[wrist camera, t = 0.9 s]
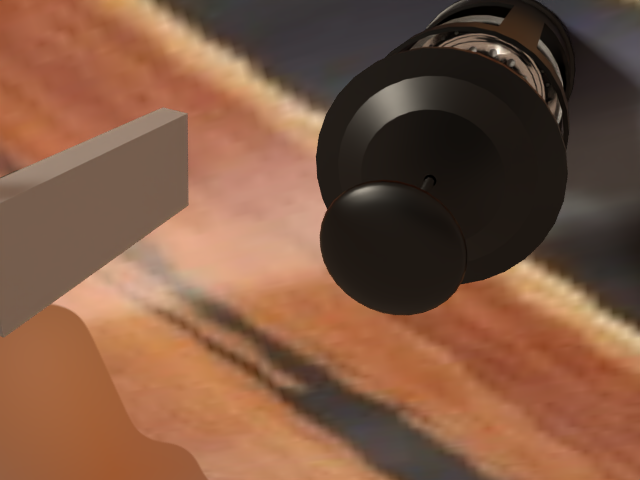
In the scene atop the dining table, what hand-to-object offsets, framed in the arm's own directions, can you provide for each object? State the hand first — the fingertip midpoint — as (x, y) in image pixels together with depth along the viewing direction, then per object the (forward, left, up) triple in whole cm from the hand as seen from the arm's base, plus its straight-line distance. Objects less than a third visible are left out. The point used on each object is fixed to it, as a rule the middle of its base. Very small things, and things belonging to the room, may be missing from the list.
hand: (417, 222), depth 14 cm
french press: (+2, -1, -24) cm, 24 cm away
